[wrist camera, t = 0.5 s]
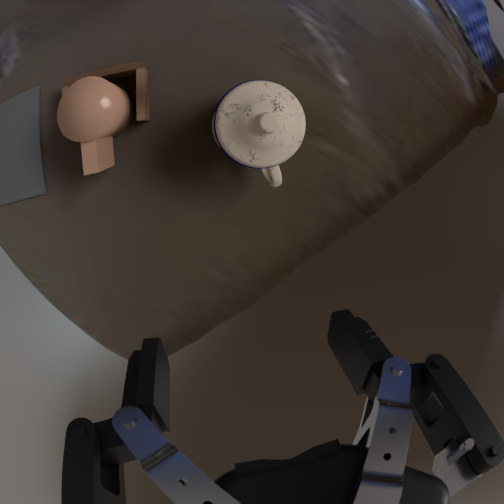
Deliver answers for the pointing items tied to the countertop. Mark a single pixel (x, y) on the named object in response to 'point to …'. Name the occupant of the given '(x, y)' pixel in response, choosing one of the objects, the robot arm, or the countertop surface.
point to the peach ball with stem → (94, 119)
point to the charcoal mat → (21, 148)
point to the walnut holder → (118, 72)
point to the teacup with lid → (259, 126)
